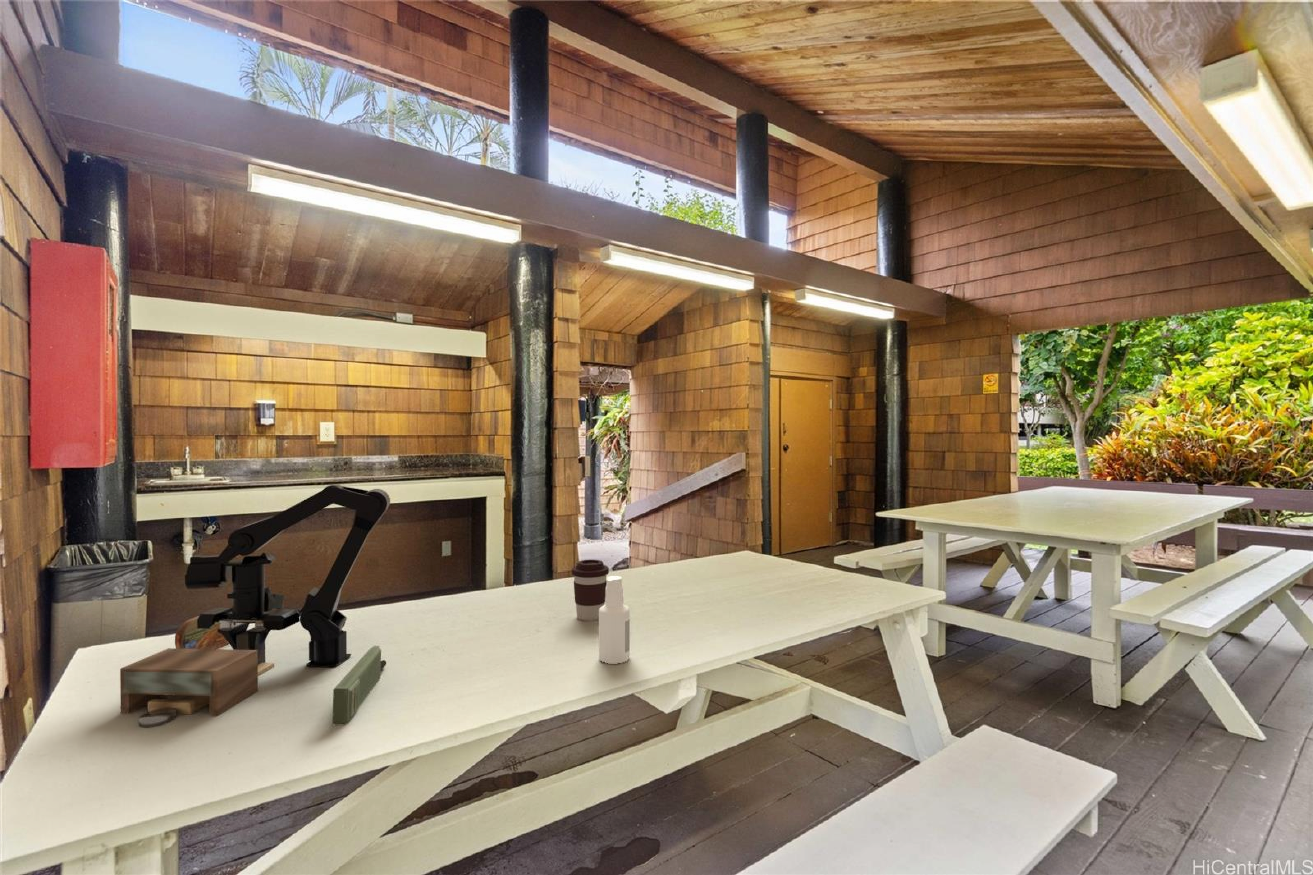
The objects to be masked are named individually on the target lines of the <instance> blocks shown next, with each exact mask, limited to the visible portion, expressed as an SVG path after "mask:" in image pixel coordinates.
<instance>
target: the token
mask: <svg viewBox="0 0 1313 875" xmlns="http://www.w3.org/2000/svg"><path fill="white" fill-rule="evenodd" d="M176 717H177V714H176V709H175V708H160V709H156V710H152V711H149V712H148V711H147V712H145V713H143V714H141V715H140V716H139V717H138V727H139V728H143V729H149V728H155V727H156V728H157V727H160V726H163V725H166V724H169V723H170V722H173V721H174V720H175V719H176Z"/></svg>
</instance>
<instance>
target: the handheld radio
mask: <svg viewBox="0 0 1313 875" xmlns="http://www.w3.org/2000/svg"><path fill="white" fill-rule="evenodd" d="M386 665H387V661H386V660H384V659H382V649H381V648H380V645H373V646H372V647H370V648H369V649H367V651H366V652H365V654H364V655H363V656H362V657H361V658H360V659H359V660H358V661H357V662H356V664H355V665H353V667H352V668H351V669H350V670H349V671H348V673H347V674H346V675H345V676H344V677H343V678H342V679H341V680H340V682H338V683H337V685H336V686H335V687H334V688H333V693H332V696H333V697H332V698H333V699H332V723H333V724H343V725H346V724H345V723H347V724H348V723H349V722H350V720H351V719H352V718H353V716H354V715H355V713H356V712H357V711H358V710H359V708H360V707H361V706H362V704H363V703H364V701H366V699H367V697H368V696H369V695H370V693H371V692H372V690H374V688H375V686H376V685H377V684H378V682H379V681H380V680H379V679H381V671H382V670H384V668H385V667H386ZM376 683H377V684H376ZM373 687H374V688H373ZM370 691H371V692H370ZM359 706H360V707H359ZM348 721H349V722H348ZM333 724H332V725H333Z"/></svg>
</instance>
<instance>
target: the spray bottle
mask: <svg viewBox="0 0 1313 875" xmlns="http://www.w3.org/2000/svg"><path fill="white" fill-rule="evenodd" d="M606 580H607V585H606V597H605V604H604V605H603V606H602V607H601V608H600V609H599V620H598V659H599V661H600V662H601V661H602V662H601V663H603V662H605V663H604V664H607V663H608V664H609V665H618V663H620V664H623V662H624V663H626V662H628V661H629V660H630V656H631V652H630V650H631V649H630V647H631V646H630V637H631V636H630V634H631V632H630V628H631V626H630V624H631V622H630V614H631V613H630V610H631V609H630V607H629V606H627V605H626V604H624V587H623V578H622V576H621V575H620V576H619V575H611V576H606ZM628 659H629V660H628ZM627 660H628V661H627ZM625 661H626V662H625Z"/></svg>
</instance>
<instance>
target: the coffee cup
mask: <svg viewBox="0 0 1313 875" xmlns="http://www.w3.org/2000/svg"><path fill="white" fill-rule="evenodd" d="M609 573H610V568H609V566H607V565H605V563H604V562H603V561H602V560H601V559H600V560H599V559H583V560H579V561H577V563H576V565H574V566H572V568H571V575H572V576H573V578H574V580H573V592H574V603H575V608H576V618H577V619H579V620H581V621H584V622H585V621H586V622H588V621H589V622H591V621H599V609H600V608H601V607H602V606H603V605H605V597H606V585H607V576H608V575H609Z"/></svg>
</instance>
